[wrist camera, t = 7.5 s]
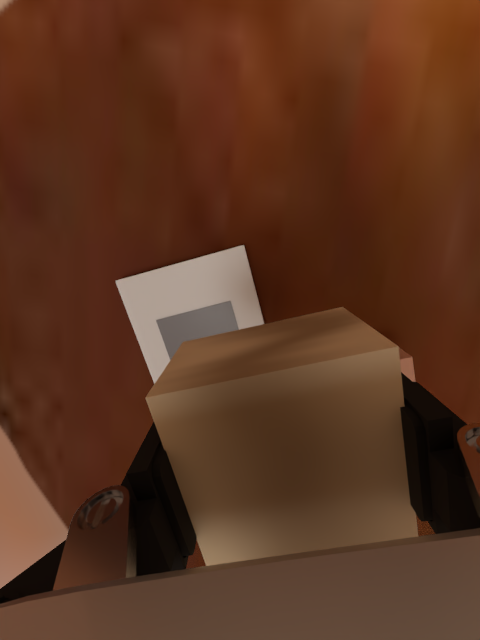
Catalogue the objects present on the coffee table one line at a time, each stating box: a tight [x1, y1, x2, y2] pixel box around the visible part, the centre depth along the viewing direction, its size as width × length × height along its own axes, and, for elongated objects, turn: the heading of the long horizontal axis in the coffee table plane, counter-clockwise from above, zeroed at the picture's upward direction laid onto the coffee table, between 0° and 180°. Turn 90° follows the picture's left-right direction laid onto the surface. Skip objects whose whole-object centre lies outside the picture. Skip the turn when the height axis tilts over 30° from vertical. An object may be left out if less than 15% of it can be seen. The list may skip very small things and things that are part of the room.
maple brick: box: [146, 307, 418, 566], centre depth 9 cm, size 6×6×4 cm
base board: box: [115, 245, 264, 384], centre depth 28 cm, size 12×16×2 cm
